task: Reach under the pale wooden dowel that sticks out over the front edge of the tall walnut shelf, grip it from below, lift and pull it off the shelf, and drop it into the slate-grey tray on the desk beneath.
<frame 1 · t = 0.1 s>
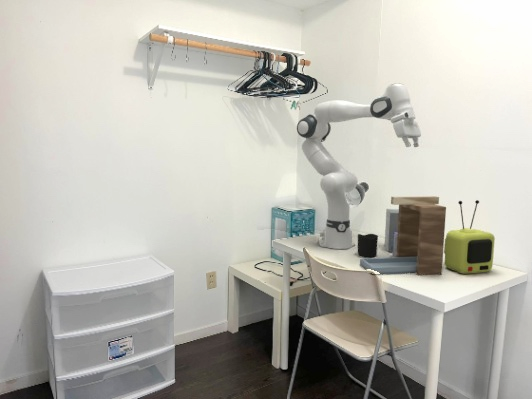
hand: (412, 146, 181), 52 cm above the table, tool tilted 20°, fingers open, 8 cm apart
hard drive box: (393, 249, 207), on the table
shelf: (417, 267, 174), on the table
pen holder: (366, 256, 194), on the table
ink cartridge box: (403, 259, 189), on the table
tray: (396, 268, 173), on the table
television: (464, 268, 174), on the table
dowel: (414, 203, 170), point 28 cm above the table, touching shelf
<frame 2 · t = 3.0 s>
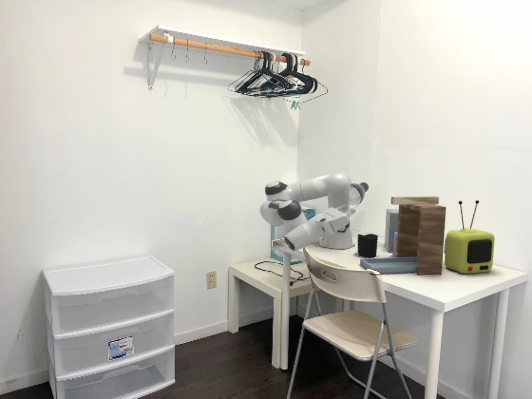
hand: (350, 208, 166), 27 cm above the table, tool pointing upward, fingers open, 8 cm apart
nothing on the table moved.
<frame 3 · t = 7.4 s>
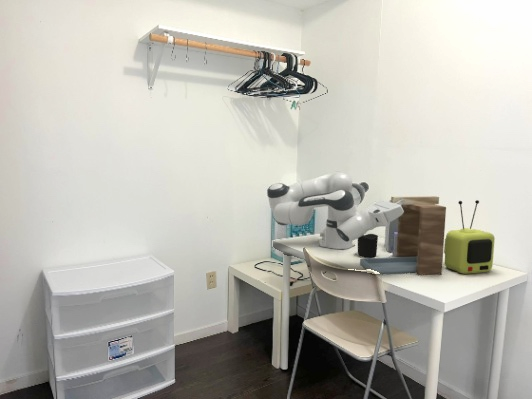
hand: (401, 199, 169), 30 cm above the table, tool pointing upward, fingers closed on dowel, 3 cm apart
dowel: (414, 203, 170), point 28 cm above the table, touching gripper
everything else where it was.
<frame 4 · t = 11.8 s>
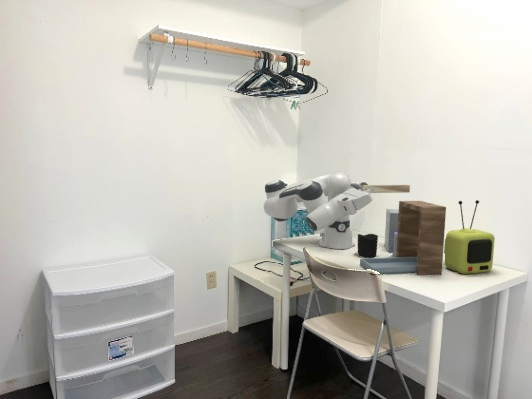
hand: (371, 187, 166), 35 cm above the table, tool pointing upward, fingers closed on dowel, 3 cm apart
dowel: (385, 192, 168), point 33 cm above the table, touching gripper
everything else where it was.
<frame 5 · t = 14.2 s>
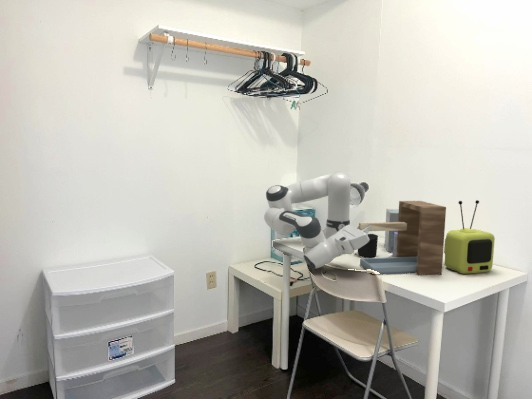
hand: (368, 225, 168), 19 cm above the table, tool pointing upward, fingers closed on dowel, 3 cm apart
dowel: (382, 230, 170), point 17 cm above the table, touching gripper
everything else where it was.
when the fingers open (19 cm above the table, at t = 16.0 s): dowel drops 16 cm, resting on tray.
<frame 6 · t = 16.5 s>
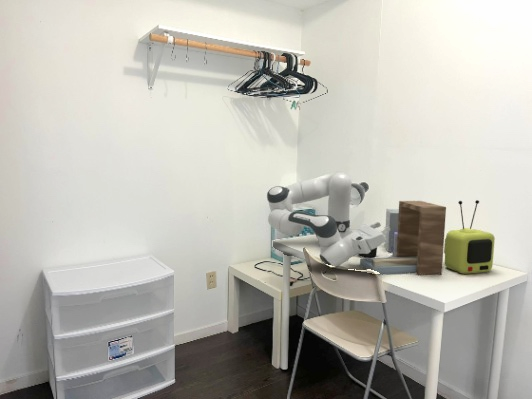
hand: (384, 225, 169), 19 cm above the table, tool pointing upward, fingers open, 8 cm apart
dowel: (395, 266, 173), point 1 cm above the table, touching tray
everything else where it was.
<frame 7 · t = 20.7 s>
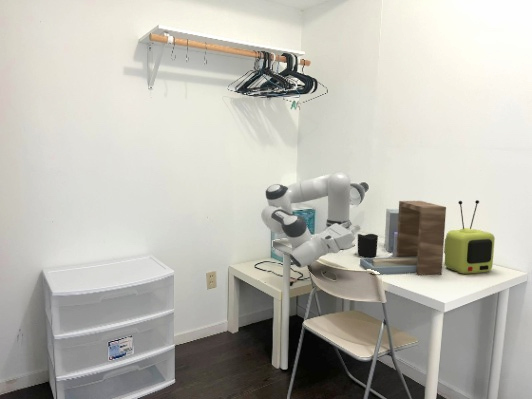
hand: (354, 224, 167), 20 cm above the table, tool pointing upward, fingers open, 8 cm apart
nothing on the table moved.
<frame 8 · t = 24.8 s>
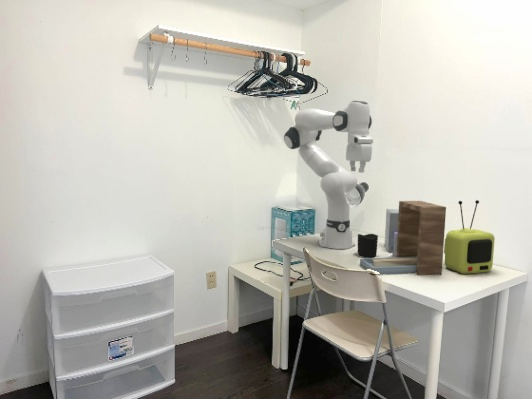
hand: (357, 171, 173), 41 cm above the table, tool pointing down, fingers open, 8 cm apart
nothing on the table moved.
at the end: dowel inside the target area (0.4 cm from its centre), point 1.0 cm above the table; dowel touching tray; the gripper is holding nothing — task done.
